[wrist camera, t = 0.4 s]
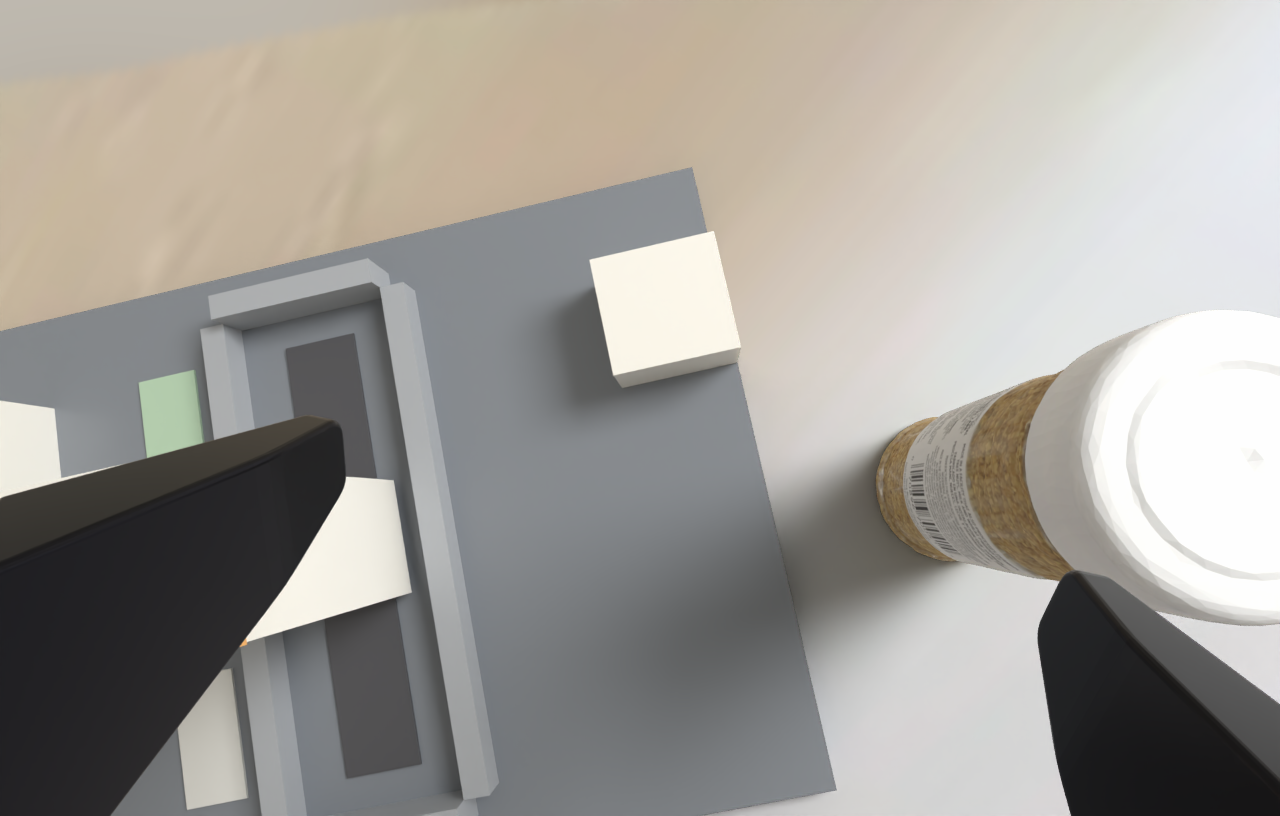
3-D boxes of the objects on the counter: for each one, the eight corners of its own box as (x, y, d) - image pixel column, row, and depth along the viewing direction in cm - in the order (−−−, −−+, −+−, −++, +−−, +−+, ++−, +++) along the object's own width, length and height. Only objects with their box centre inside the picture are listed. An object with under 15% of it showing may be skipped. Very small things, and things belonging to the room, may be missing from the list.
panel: (833, 782, 23) (852, 824, 20) (9, 937, 24) (-87, 997, 21) (692, 174, 26) (690, 132, 23) (-38, 347, 27) (-129, 328, 24)
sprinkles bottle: (1027, 557, 23) (1461, 628, 10) (876, 562, 24) (1099, 638, 10) (1011, 410, 24) (1400, 291, 10) (864, 418, 24) (1060, 312, 11)
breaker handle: (413, 593, 24) (166, 669, 13) (296, 618, 24) (-47, 713, 13) (395, 478, 24) (141, 457, 13) (280, 503, 24) (-62, 502, 14)
